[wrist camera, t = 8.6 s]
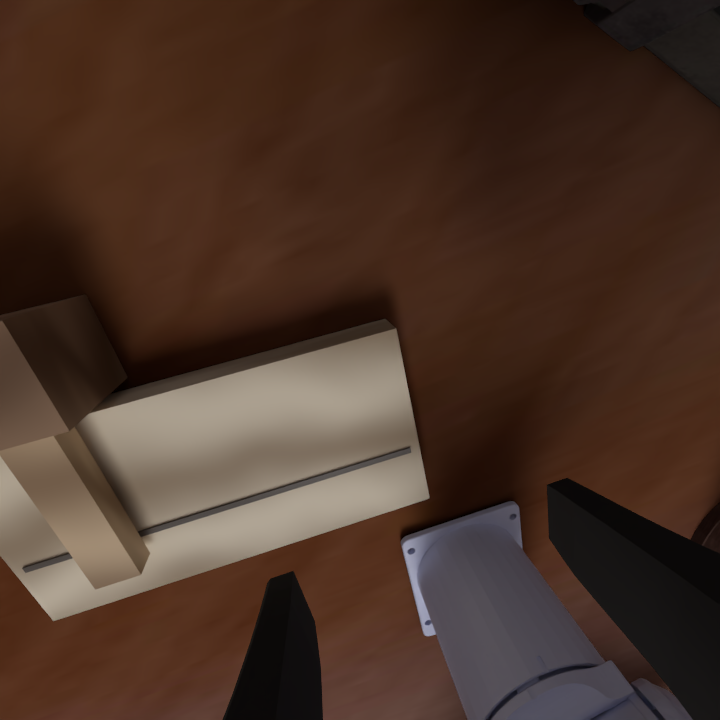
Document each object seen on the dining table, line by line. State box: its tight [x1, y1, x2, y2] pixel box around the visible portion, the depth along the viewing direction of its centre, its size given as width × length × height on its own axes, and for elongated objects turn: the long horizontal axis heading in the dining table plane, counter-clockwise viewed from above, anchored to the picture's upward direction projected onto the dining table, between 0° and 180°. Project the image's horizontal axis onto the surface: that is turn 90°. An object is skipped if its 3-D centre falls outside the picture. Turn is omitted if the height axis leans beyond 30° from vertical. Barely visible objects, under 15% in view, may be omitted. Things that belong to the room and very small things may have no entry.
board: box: [0, 319, 430, 621], centre depth 18 cm, size 10×20×2 cm, turn 103°
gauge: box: [0, 294, 150, 590], centre depth 15 cm, size 12×5×6 cm, turn 13°
